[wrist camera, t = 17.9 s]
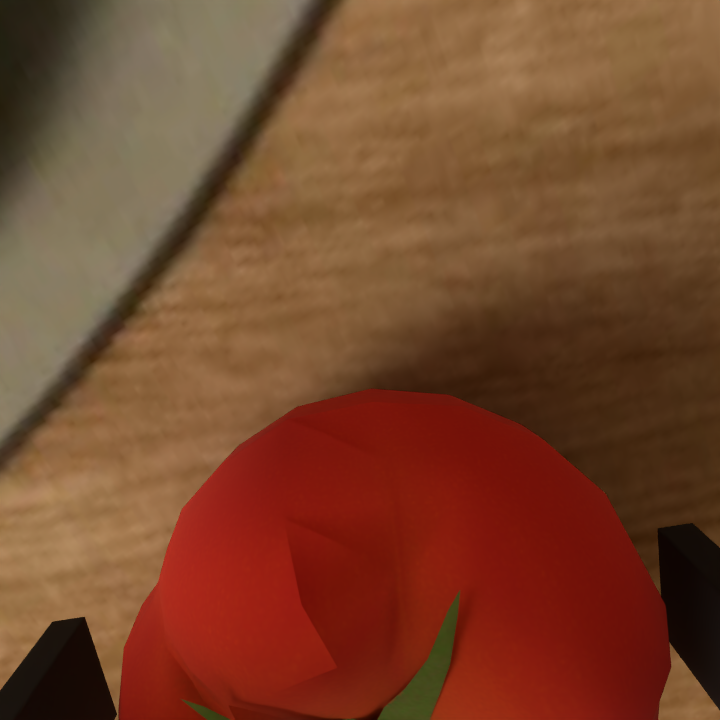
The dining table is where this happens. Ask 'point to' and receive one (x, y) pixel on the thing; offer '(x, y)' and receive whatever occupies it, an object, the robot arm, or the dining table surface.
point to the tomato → (398, 579)
